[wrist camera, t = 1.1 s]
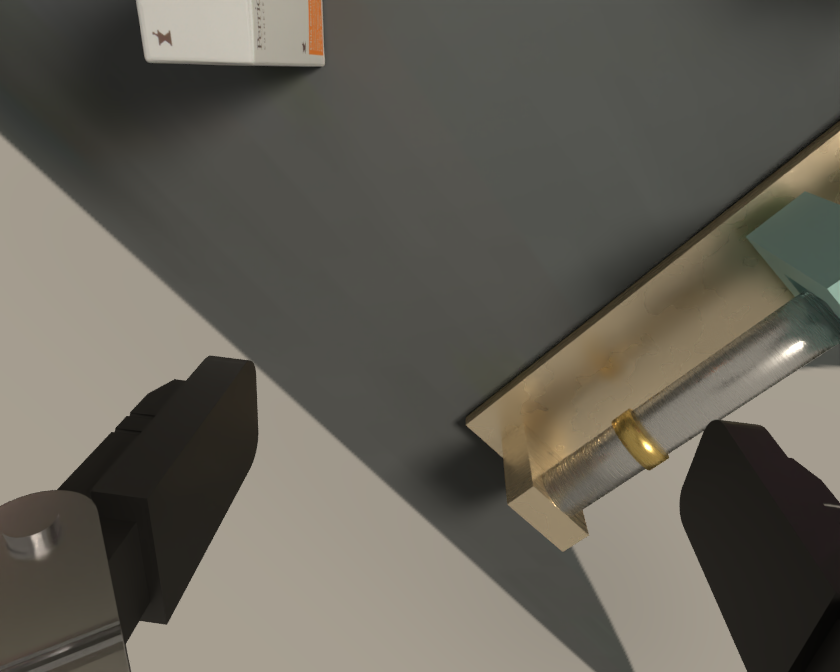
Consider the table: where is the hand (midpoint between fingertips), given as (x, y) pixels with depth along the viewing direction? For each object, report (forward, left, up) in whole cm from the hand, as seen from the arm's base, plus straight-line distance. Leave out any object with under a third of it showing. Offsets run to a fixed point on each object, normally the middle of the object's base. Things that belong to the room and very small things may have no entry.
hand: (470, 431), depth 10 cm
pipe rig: (-3, +17, -26) cm, 31 cm away
